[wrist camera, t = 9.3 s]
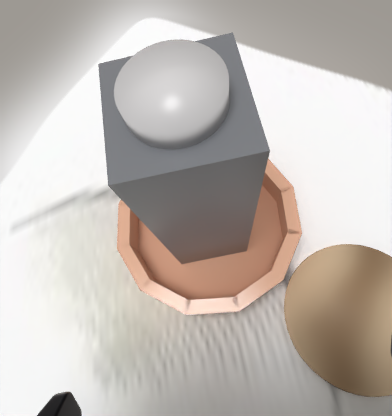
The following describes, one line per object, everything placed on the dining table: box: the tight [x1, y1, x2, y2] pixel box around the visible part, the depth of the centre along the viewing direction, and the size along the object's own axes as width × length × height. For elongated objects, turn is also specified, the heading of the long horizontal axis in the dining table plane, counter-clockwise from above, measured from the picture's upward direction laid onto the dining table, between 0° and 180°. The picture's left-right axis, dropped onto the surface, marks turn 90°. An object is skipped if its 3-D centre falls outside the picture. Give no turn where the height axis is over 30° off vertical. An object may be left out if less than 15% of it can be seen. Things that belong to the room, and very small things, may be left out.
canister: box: [99, 33, 270, 264], centre depth 15 cm, size 4×4×14 cm
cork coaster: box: [284, 244, 392, 397], centre depth 19 cm, size 9×9×1 cm
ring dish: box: [117, 159, 302, 315], centre depth 21 cm, size 12×12×3 cm
